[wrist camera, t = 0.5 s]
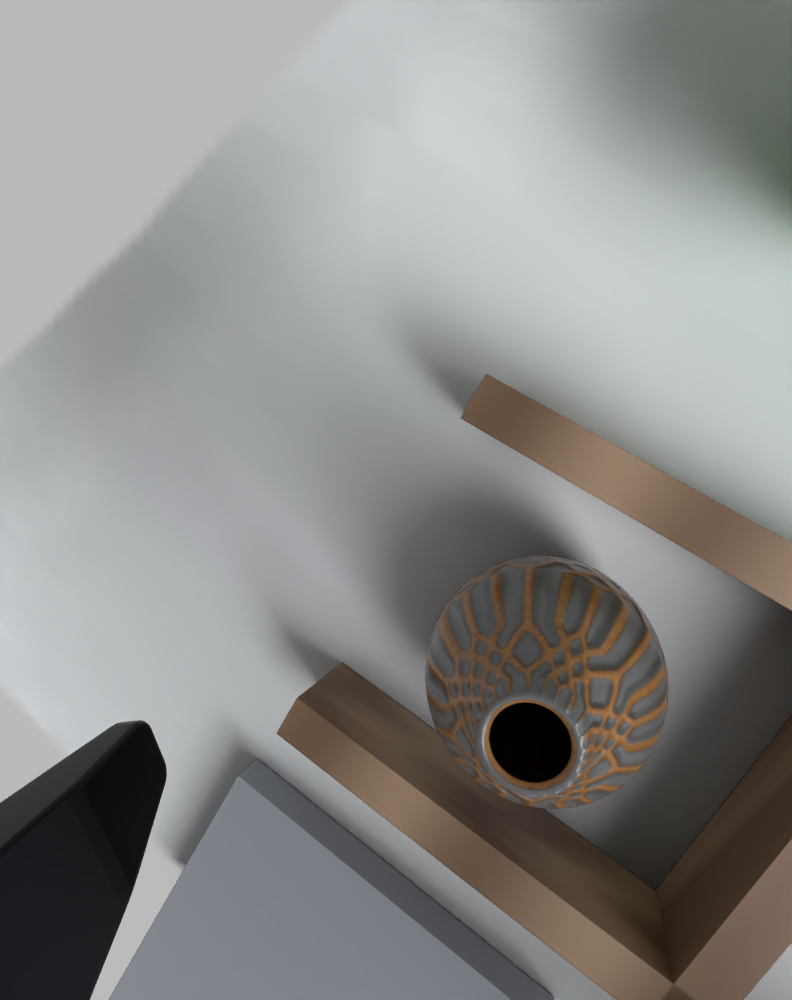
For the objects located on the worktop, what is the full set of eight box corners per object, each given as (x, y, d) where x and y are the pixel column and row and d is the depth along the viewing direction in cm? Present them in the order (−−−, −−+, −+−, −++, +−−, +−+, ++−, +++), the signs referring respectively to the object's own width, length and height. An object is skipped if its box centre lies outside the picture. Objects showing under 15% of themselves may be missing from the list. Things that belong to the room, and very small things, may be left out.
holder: (928, 630, 18) (1021, 670, 14) (671, 951, 21) (692, 1059, 17) (501, 392, 22) (486, 374, 18) (324, 692, 24) (276, 733, 20)
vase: (583, 775, 21) (588, 967, 13) (419, 665, 23) (329, 772, 15) (692, 613, 20) (775, 710, 12) (511, 509, 22) (471, 528, 13)
